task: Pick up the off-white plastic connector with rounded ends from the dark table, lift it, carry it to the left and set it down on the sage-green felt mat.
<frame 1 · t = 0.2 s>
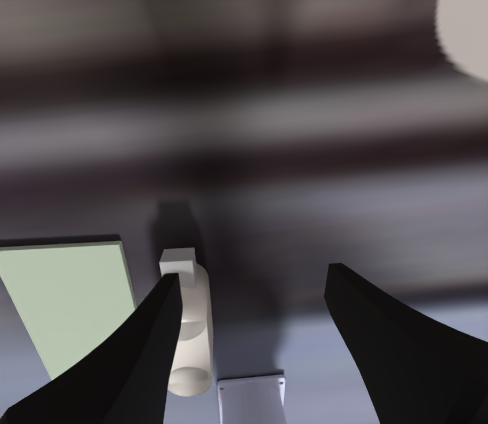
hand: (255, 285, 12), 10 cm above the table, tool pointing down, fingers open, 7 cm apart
connector: (190, 308, 25), on the table
mat: (84, 316, 25), on the table
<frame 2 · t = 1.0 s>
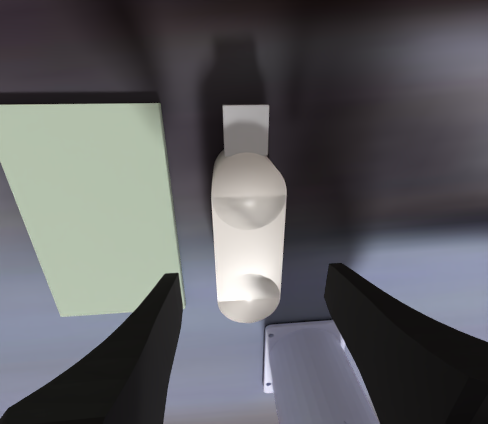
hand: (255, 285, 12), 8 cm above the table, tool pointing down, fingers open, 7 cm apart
connector: (242, 216, 20), on the table
mat: (105, 223, 19), on the table
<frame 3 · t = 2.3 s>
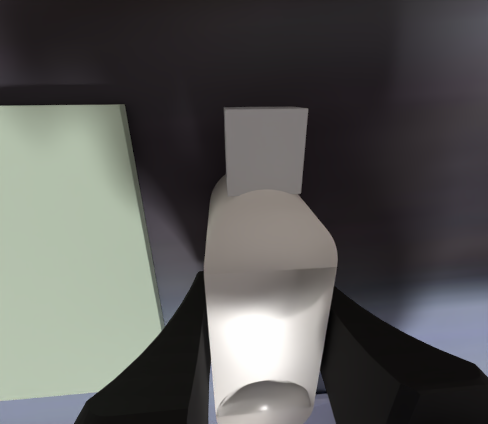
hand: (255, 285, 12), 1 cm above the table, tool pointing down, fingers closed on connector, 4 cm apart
connector: (251, 267, 14), on the table, touching gripper
mat: (52, 279, 13), on the table
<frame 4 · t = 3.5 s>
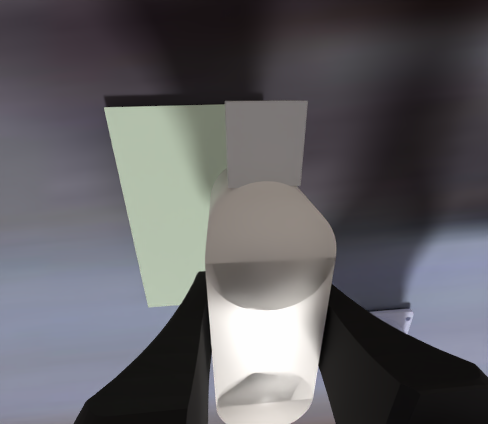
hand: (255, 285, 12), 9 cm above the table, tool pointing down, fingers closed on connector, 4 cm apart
connector: (252, 261, 14), point 7 cm above the table, touching gripper
mat: (198, 217, 20), on the table
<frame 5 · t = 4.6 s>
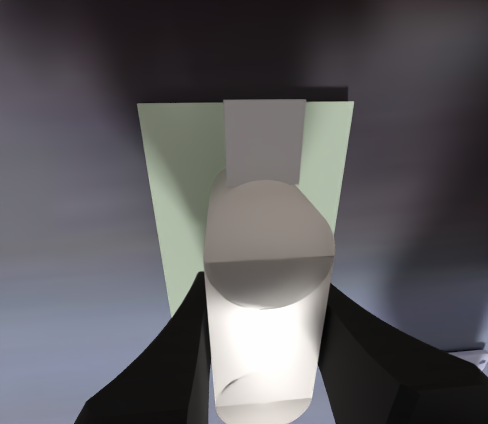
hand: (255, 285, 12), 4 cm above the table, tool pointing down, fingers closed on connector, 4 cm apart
connector: (251, 261, 14), point 2 cm above the table, touching gripper
mat: (247, 245, 16), on the table
when the fingers open (3 cm above the table, at t = 5.0 s): connector drops 1 cm, resting on mat.
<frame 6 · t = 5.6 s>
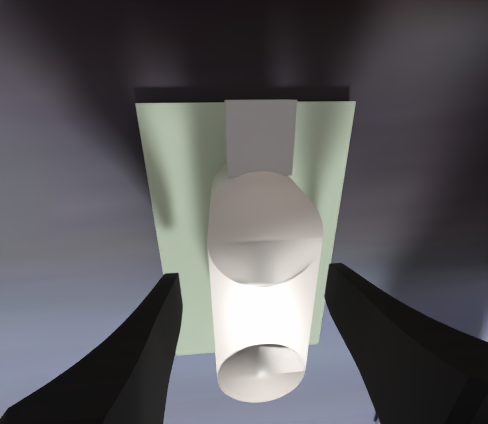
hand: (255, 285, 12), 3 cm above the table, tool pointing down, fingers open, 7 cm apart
connector: (249, 249, 15), point 1 cm above the table, touching mat
mat: (247, 247, 15), on the table
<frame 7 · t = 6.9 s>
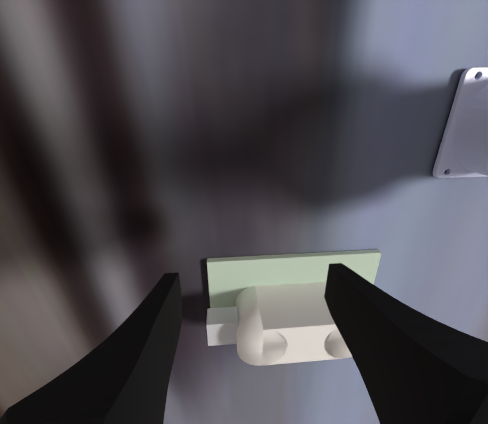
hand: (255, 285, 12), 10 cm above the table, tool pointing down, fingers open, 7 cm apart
connector: (290, 300, 25), point 1 cm above the table, touching mat
mat: (291, 296, 26), on the table
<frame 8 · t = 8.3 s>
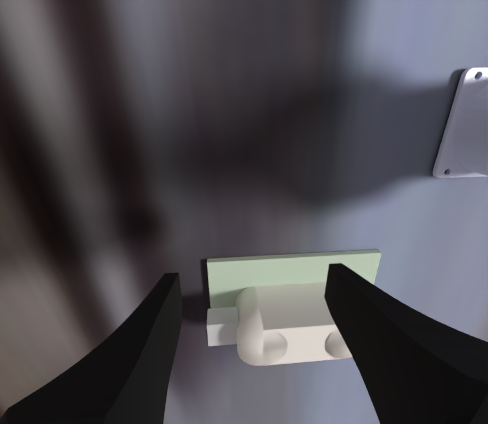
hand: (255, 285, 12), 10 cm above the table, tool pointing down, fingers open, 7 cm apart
connector: (290, 300, 25), point 1 cm above the table, touching mat
mat: (291, 296, 26), on the table
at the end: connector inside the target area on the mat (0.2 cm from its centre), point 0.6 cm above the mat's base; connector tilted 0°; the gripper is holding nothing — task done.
